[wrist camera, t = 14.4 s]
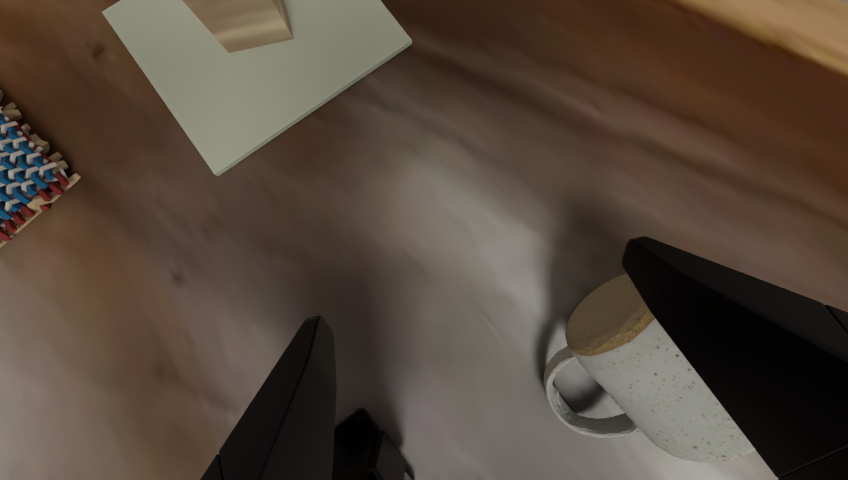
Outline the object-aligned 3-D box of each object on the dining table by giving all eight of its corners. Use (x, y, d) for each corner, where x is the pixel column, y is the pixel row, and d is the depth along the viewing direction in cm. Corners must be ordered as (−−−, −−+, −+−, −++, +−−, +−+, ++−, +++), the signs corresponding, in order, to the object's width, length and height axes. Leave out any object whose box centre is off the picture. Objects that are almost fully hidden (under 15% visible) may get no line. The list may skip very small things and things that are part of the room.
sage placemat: (218, 176, 23) (214, 174, 22) (106, 16, 24) (101, 11, 24) (412, 44, 24) (411, 40, 24) (297, -103, 25) (295, -109, 25)
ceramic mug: (607, 261, 22) (701, 260, 15) (692, 341, 22) (835, 382, 14) (509, 367, 22) (554, 422, 14) (594, 451, 21) (688, 556, 14)
